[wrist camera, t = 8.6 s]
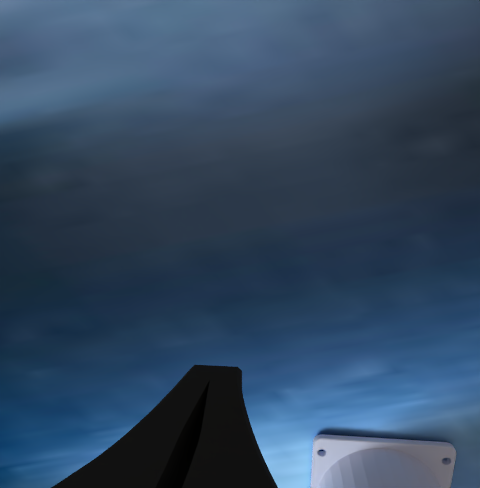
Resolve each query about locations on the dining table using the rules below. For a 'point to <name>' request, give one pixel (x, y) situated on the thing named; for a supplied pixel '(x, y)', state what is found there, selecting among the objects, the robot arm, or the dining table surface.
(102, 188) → the dining table surface
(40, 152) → the dining table surface
